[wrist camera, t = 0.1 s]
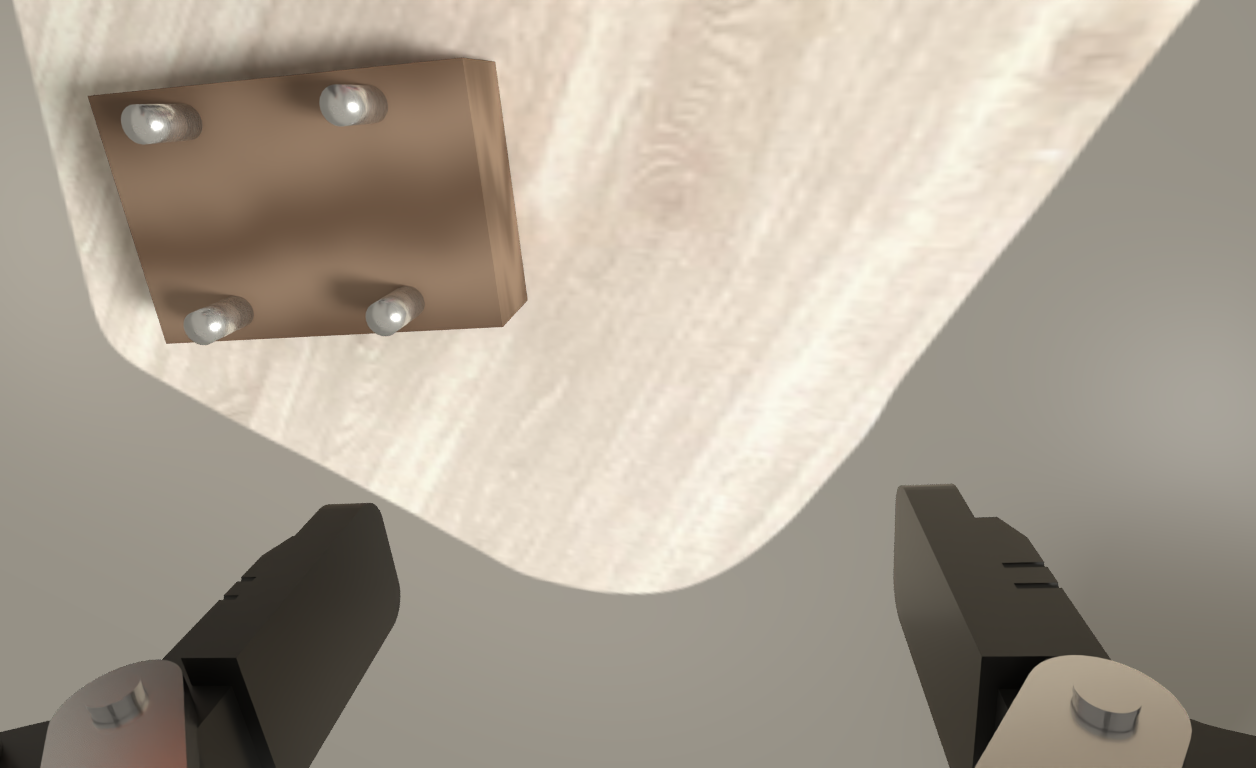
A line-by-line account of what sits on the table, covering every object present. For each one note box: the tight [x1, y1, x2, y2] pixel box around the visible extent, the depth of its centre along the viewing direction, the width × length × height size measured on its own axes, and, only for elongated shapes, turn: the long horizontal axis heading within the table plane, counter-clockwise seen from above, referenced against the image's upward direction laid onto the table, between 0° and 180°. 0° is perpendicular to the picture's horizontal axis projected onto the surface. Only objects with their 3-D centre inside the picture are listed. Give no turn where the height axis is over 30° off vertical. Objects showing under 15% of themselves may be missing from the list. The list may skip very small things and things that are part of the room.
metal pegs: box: [121, 84, 425, 345], centre depth 34 cm, size 11×11×3 cm
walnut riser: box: [88, 58, 527, 344], centre depth 38 cm, size 12×18×5 cm, turn 95°
